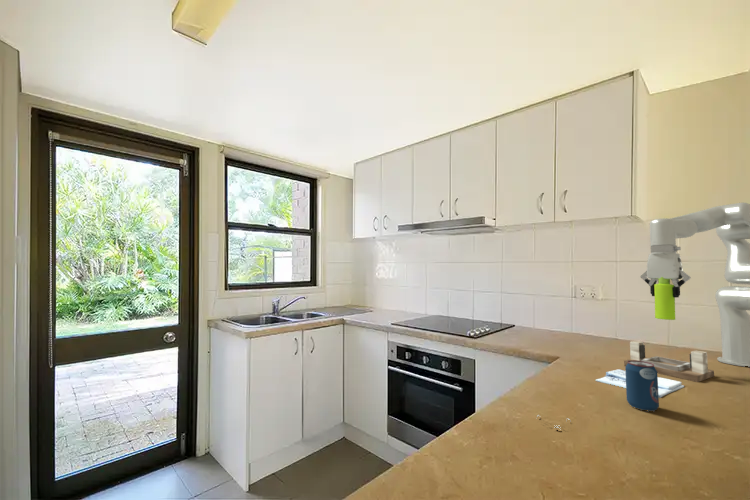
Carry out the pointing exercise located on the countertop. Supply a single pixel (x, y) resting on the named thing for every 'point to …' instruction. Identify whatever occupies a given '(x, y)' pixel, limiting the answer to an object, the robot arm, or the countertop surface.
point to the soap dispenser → (664, 300)
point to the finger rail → (674, 364)
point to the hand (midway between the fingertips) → (665, 296)
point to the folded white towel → (619, 380)
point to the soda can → (642, 385)
